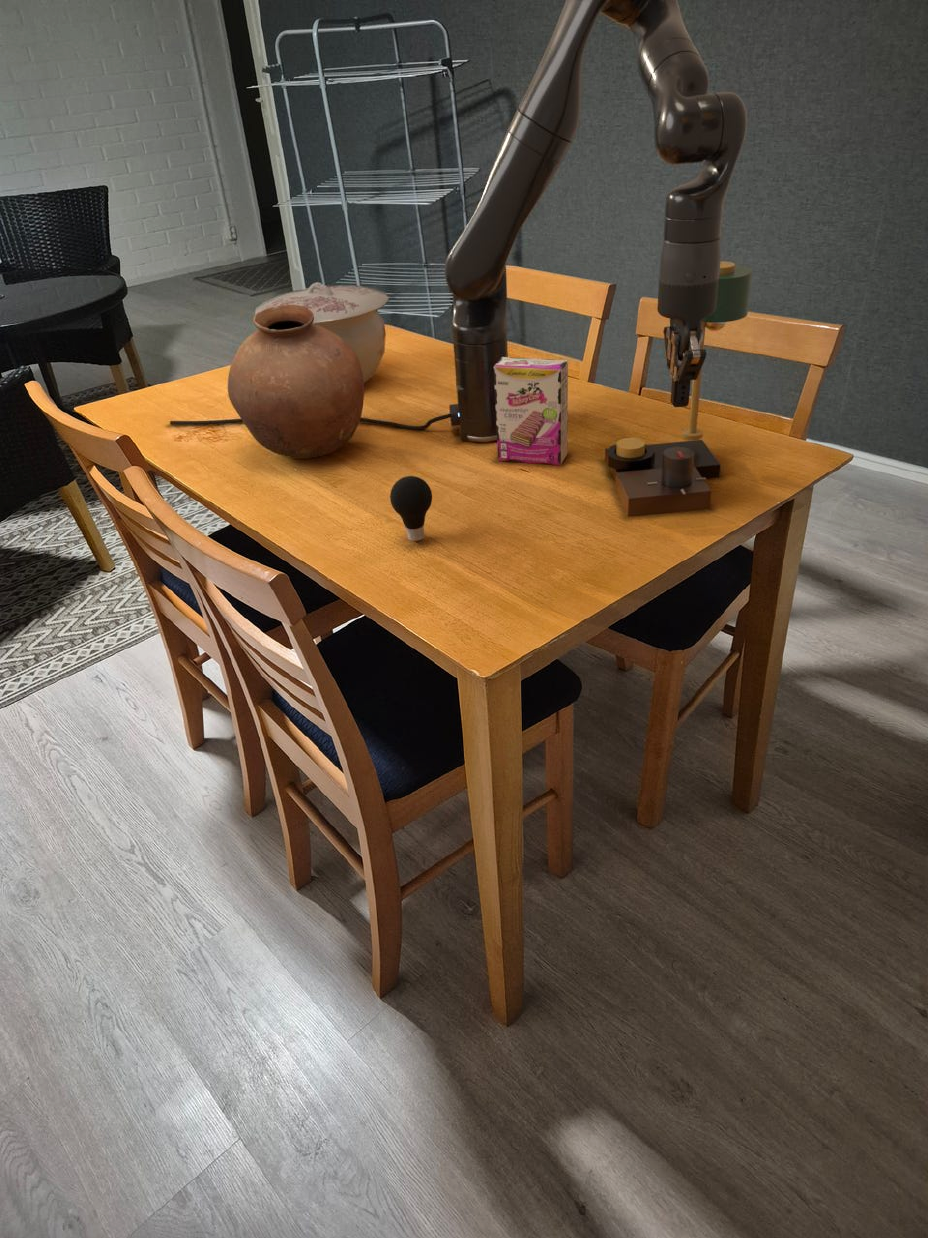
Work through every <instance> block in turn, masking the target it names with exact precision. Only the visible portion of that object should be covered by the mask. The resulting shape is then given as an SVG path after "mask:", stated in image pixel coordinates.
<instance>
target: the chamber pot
mask: <svg viewBox="0 0 928 1238" xmlns="http://www.w3.org/2000/svg"><path fill="white" fill-rule="evenodd" d="M388 301H389V296H388V294H387V293H386V292H385V291H382V290H380V289H378V288H375V287H369V286H363V285H356V284H355V285H354V284H351V285H350V284H337V285H336V284H335V285H333V284H332V285H325V284H323V283H321V282H314V283H311V284H310V286H309V287H307V288H302V289H297V290H296V289H295V290H292V291H289V292H285V293H282V294H279V295H277V296H274V297H273V298H270V299H268V300H266V301H264V302H262V303H260V304H259V305H258V306H257V307H256V308H255V310H254V316H255V315H256V314H257V313H258V312H260V311H262V310H264V309H267V308H269V307H276V306H279V305H291V304H295V305H300V306H304V307H307V308H309V309H310V310H311V311H312V312H313V313H314V321H313V323H312V324H315V325H318V326H321V327H323V328H325V329H327V330H329V331H331V332H333V333H335V334H336V335H338V336H339V337H341V338H342V339H343V340H344V341H345V342H347V343H348V344H349V346H350V347H351V348H352V349H353V350H354V352H355V353H356V355H357V356H358V358H359V361H360V364H361V368H362V373H363V381H364V384H366V383H367V382H368V381H371V379H372V378H373V377H374V376H375V374H376V372H377V371H378V368H379V365H380V364H381V361H382V359H383V357H384V354H385V352H386V351H385V349H386V339H387V338H386V336H387V333H386V326H385V321H384V318H383V317H382V315H381V314H380V312H379V311H378V309H380V308H382V307H384V306H385V304H386V303H387V302H388Z"/></svg>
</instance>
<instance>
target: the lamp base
mask: <svg viewBox="0 0 928 1238" xmlns="http://www.w3.org/2000/svg"><path fill="white" fill-rule="evenodd" d="M616 444H617V443H615V444H612V445H610V446H609V447H608V448H607V447H606V448H604V462H605V464H606V467H607V468H608V471H609V472H610V475H611V477H612V479H613V481H614V483H615V484H616V473H617V472H628V471H639V470H650V469H660V468H662V464H663V452H664V451H665V450H666V449H668V448H672V447H684V448H688V449H691V450H693V451H694V466H695V468H696V469H697V471H698V472H699V474H700V475H701V477H702V478H706V479H705V480H707V479H718V478H720V473H721V463H720V461H718V459H717V458H716V457H715V455H714V454H713V452H712V451H711V449H710V448H708V445H707V444H706V443H705V442H704V440H703V439H699V440H683V441H673V442H663V443H653V444H651V443H650V444H646V443H645V454H644V455H643V456H641V457H637V458H625V457H620V456H618V455H616Z"/></svg>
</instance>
